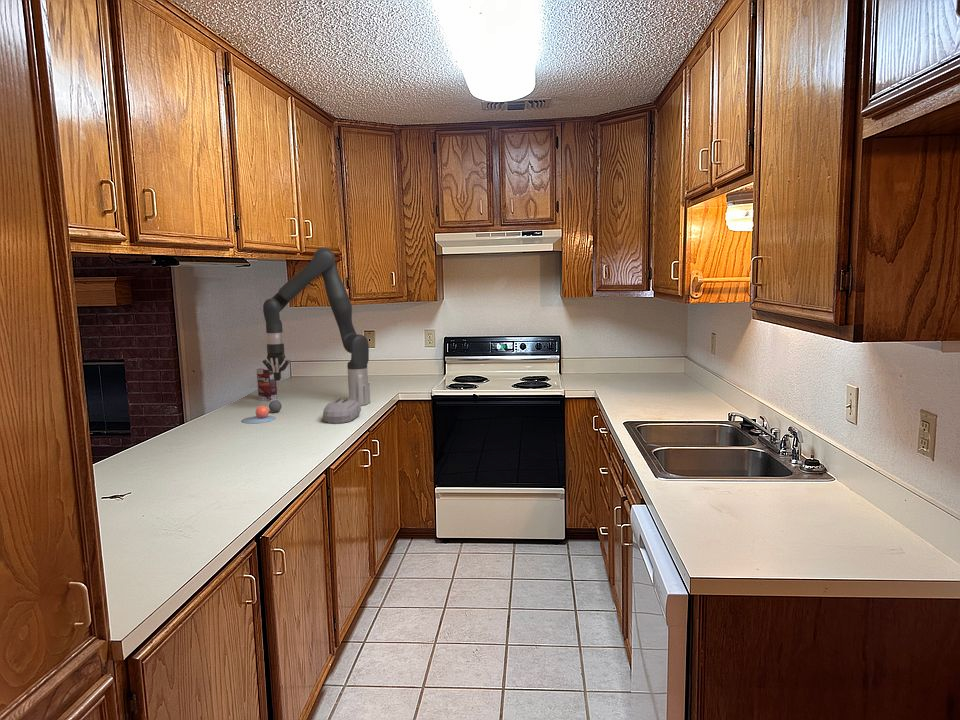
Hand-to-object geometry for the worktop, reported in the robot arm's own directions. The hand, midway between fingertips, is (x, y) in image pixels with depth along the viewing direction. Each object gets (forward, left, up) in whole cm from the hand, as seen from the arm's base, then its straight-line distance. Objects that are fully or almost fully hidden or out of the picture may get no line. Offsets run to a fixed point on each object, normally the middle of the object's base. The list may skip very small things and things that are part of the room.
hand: (277, 380), depth 295 cm
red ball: (0, +16, -11) cm, 20 cm away
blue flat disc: (0, +19, -14) cm, 24 cm away
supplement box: (+18, -23, -14) cm, 32 cm away
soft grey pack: (-36, +14, -14) cm, 41 cm away
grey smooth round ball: (0, +4, -11) cm, 12 cm away
